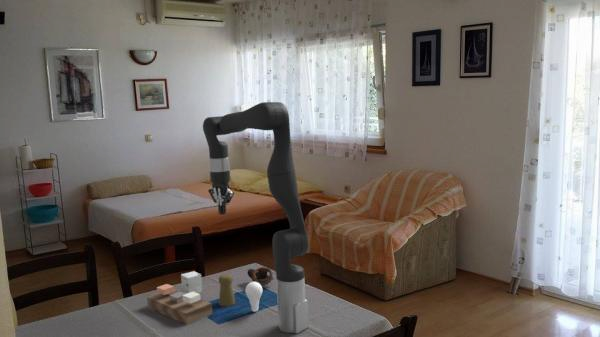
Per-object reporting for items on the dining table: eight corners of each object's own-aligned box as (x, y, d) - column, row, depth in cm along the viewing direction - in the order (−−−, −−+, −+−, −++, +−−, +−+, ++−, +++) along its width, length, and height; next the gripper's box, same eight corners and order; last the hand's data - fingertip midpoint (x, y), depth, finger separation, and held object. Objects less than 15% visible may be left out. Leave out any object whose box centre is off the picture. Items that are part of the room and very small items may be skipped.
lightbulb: (253, 306, 190) (251, 278, 188) (266, 310, 187) (265, 280, 185) (243, 313, 185) (241, 283, 183) (257, 316, 182) (255, 286, 180)
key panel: (212, 313, 185) (211, 303, 185) (187, 324, 177) (186, 313, 176) (172, 298, 201) (172, 288, 200) (147, 307, 193) (147, 297, 192)
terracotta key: (174, 291, 194) (173, 286, 193) (164, 295, 190) (163, 290, 190) (167, 288, 196) (166, 283, 196) (157, 292, 193) (156, 287, 193)
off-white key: (200, 299, 183) (200, 294, 183) (190, 303, 180) (190, 298, 179) (193, 296, 186) (192, 291, 186) (182, 300, 183) (182, 295, 182)
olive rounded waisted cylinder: (236, 299, 197) (235, 272, 195) (233, 306, 191) (231, 277, 189) (221, 299, 197) (219, 272, 196) (217, 306, 191) (215, 277, 190)
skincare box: (181, 292, 207) (180, 274, 206) (195, 287, 211) (194, 270, 210) (189, 296, 202) (187, 278, 201) (202, 292, 206) (201, 274, 205)
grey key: (187, 299, 188) (187, 294, 188) (177, 303, 185) (176, 298, 185) (180, 296, 191) (179, 291, 191) (170, 300, 188) (169, 295, 188)
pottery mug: (277, 281, 216) (277, 268, 210) (267, 298, 209) (266, 285, 204) (252, 272, 219) (251, 259, 214) (241, 288, 213) (240, 275, 207)
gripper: (238, 169, 194) (241, 214, 197) (216, 167, 203) (218, 210, 206) (223, 172, 189) (226, 218, 191) (200, 169, 197) (203, 214, 200)
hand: (222, 214), depth 198 cm, fingers closed
